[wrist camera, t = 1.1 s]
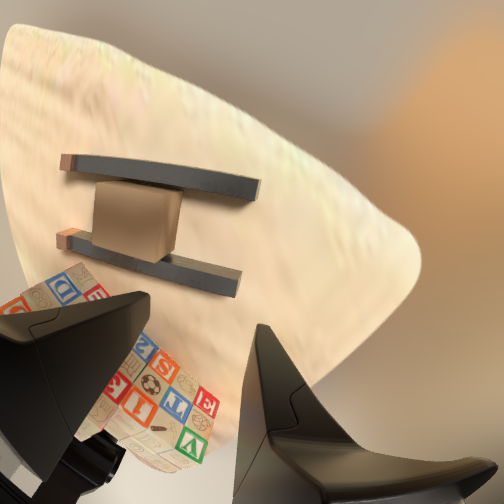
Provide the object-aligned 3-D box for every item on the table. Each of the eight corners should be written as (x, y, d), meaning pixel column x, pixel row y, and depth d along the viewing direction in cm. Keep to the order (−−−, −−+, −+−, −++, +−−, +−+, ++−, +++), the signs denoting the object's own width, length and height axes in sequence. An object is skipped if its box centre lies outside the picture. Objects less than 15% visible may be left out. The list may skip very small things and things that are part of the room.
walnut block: (174, 248, 23) (154, 263, 19) (117, 233, 23) (91, 244, 19) (183, 190, 21) (163, 194, 17) (123, 179, 22) (96, 182, 18)
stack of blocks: (222, 400, 27) (194, 491, 15) (188, 416, 29) (157, 494, 17) (81, 260, 24) (-7, 308, 13) (62, 292, 26) (-10, 342, 14)
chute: (238, 287, 23) (233, 300, 20) (72, 241, 24) (56, 248, 21) (261, 179, 20) (258, 179, 18) (78, 153, 21) (61, 153, 19)
